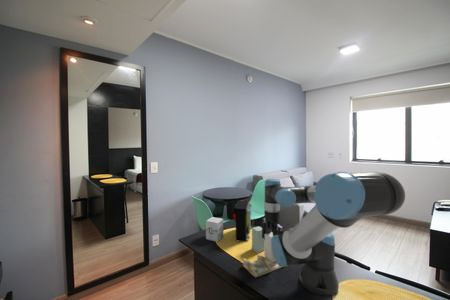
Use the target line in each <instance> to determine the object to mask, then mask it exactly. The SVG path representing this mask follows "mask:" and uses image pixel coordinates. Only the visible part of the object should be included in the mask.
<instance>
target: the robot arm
mask: <svg viewBox="0 0 450 300" xmlns="http://www.w3.org/2000/svg"><path fill="white" fill-rule="evenodd" d="M281 184H282V183H281V181H280V179H278V178H266V179H265V180H264V206H263V207H264V215H263V216H264V218H261V224H262V225H261V228H262V238H264V240H265V234H268V233H271V232H272V233H273V237H272V240H271V245H272V251H273V260H276V262H277V264H278V265H279V266H284V267H286V268H287V267H292V266H297V265H299V266H300V265H302V267H301V270H300V272H299V282H300V283H301V285H302V287H303V288H305V289H306V290H307V291H309V292H311V293H313V294H315V295H319V296H323V297H324V296H325V297H329V296H334V295H333V294H335V293H336V294H337V293H338V292H339V290H338V289H339V288H340V287H339V285H340V283H339V280H338V277H337V275H336V270H335V256H336V255H335V253H336V251H335V250H336V244H335V243H336V242H335V241H336V240H335V236H334V234H333V233H334V231H335V230H337V229H338V228H342V229H345V228H346V229H347V228H349V227H352V226H353V225H355V224H356V223H357V222H359V221H360V220H362V219H363V218H367V217H374V216H375V217H376V216H383V215H384V216H387V215H390V214H393V213H395V212H397V211H398V210H400V209H401V207H402V206H403V204H404V203H405V200H406V191H405V189H404V186H403V185H402V183H401V182H400V181H399V180H398V179H397V178H396V177H394V176H393V175H391V174H388V173H385V172H380V171H364V172H363V171H362V172H361V171H360V172H359V171H358V172H346V171H345V172H344V171H343V172H342V171H341V172H340V171H339V172H335V173H334V172H333V173H329V174H326V175H324V176H322V177H321V178H319V180H318V181H317V183H316V184H315V185H305V186H304V185H303V186H286V187H285V186H282V185H281ZM296 204H297V205H298V204H315V205H314V206H313V207H312V208H311V209H310V210H309V212H308V213H307V214H306V215H305V216H304V217H303V218H302V219H301V220H299V222H298V223H297V224H296V225H295V226H294V227H289V228H287V229H286V230H284V226H281V225H280V222H279V221H280V218H281V207H285V208H290V207H292V206H294V205H296ZM336 294H335V295H336Z"/></svg>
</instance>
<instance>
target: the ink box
mask: <svg viewBox="0 0 450 300" xmlns="http://www.w3.org/2000/svg"><path fill="white" fill-rule="evenodd" d="M223 237H224V218H221V217H214V216H211V217H210V218H208V219H207V220H205V240H208V241H213V242H216V243H217V242H219V241H220V240H221V239H222V238H223Z"/></svg>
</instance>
